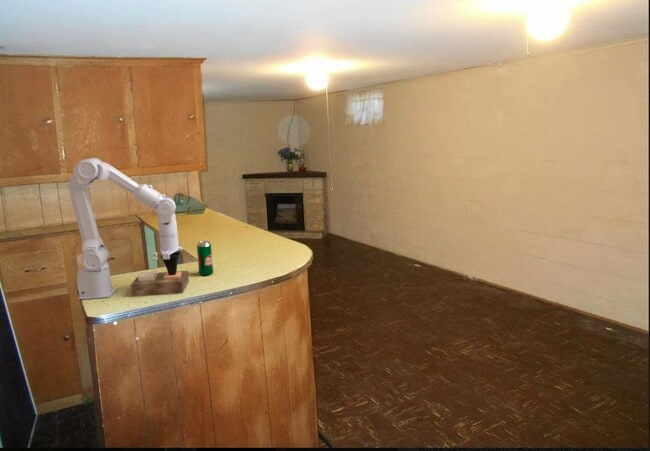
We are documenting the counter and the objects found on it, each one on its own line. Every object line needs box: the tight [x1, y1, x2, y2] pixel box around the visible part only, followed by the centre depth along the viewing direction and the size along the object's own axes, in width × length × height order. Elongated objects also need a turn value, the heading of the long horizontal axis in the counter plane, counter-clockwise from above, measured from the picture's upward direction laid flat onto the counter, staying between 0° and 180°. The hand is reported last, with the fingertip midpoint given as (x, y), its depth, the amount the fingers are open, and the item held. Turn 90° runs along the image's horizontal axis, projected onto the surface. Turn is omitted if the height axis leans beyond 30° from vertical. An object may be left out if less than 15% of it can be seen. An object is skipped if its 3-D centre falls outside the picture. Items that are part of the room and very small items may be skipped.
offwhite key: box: [137, 270, 158, 281], centre depth 166 cm, size 5×5×2 cm
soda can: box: [196, 240, 214, 277], centre depth 181 cm, size 5×5×12 cm
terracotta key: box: [163, 272, 182, 280], centre depth 166 cm, size 5×5×2 cm
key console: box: [130, 270, 190, 297], centre depth 166 cm, size 16×12×4 cm
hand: (172, 274), depth 166 cm, fingers closed, pressing on terracotta key
